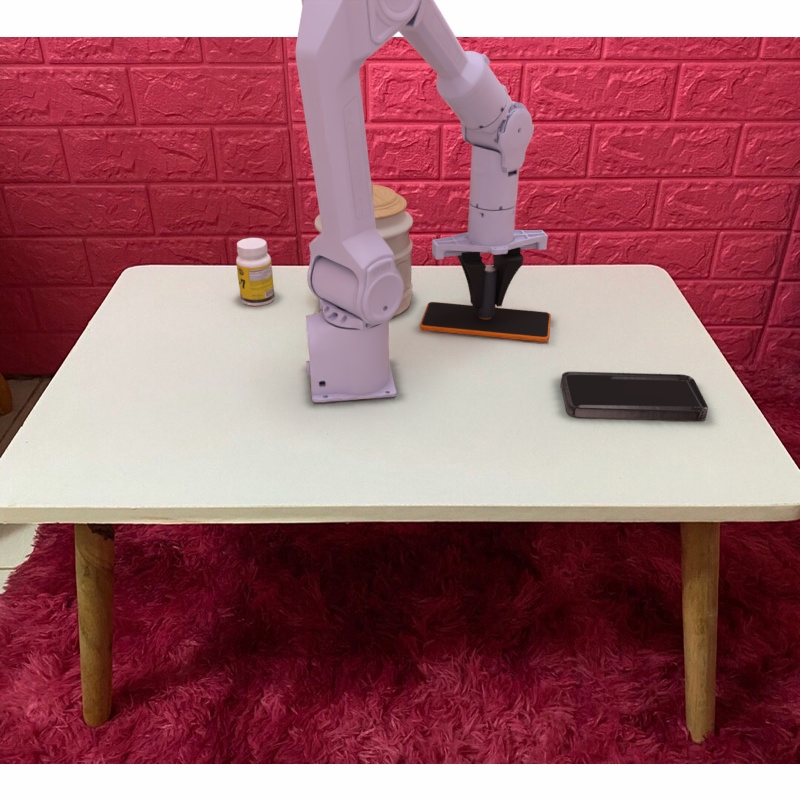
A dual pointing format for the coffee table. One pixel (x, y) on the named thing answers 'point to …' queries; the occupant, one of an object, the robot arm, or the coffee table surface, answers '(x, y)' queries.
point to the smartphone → (487, 322)
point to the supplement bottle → (254, 272)
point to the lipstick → (488, 293)
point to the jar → (392, 234)
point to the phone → (633, 396)
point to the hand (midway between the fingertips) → (485, 304)
